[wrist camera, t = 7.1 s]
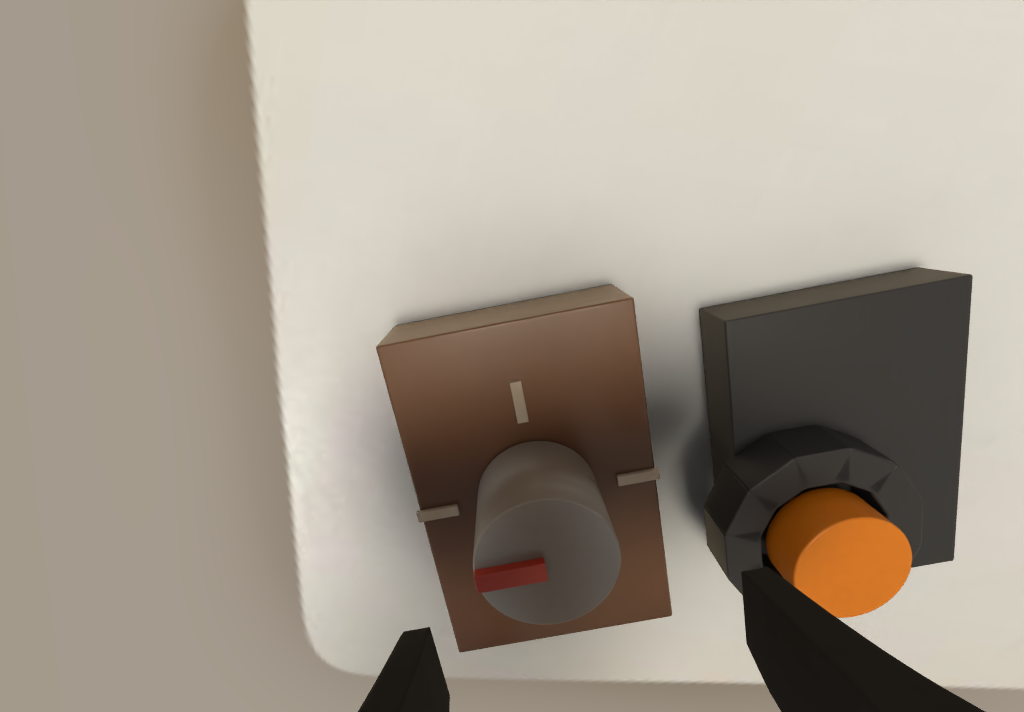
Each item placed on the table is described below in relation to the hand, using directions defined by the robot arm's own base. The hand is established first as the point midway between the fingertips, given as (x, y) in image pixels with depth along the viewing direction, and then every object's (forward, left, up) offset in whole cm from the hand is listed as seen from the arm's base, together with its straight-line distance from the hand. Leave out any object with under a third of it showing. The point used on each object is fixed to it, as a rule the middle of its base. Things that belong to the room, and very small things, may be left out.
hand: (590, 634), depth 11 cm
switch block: (-1, -10, -9) cm, 14 cm away
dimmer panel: (0, +1, -9) cm, 9 cm away
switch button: (-3, -8, -5) cm, 10 cm away
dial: (0, +1, -6) cm, 6 cm away
